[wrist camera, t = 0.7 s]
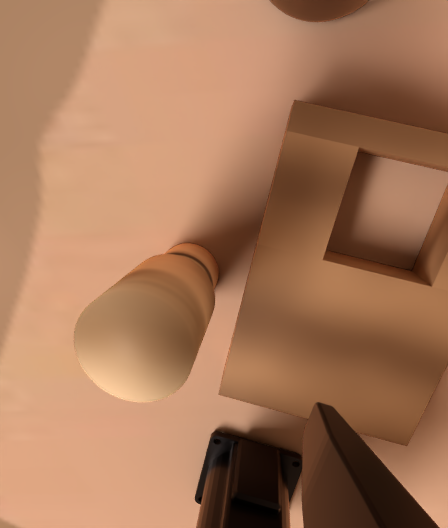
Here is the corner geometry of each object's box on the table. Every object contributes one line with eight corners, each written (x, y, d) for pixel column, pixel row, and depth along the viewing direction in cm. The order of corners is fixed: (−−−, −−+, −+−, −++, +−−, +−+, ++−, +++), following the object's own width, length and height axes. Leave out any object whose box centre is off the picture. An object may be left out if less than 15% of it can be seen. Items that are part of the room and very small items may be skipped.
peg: (216, 313, 21) (181, 415, 13) (149, 295, 21) (69, 384, 13) (232, 246, 20) (204, 310, 11) (160, 228, 20) (79, 278, 12)
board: (391, 414, 22) (407, 446, 19) (224, 369, 22) (218, 394, 20) (511, 156, 17) (550, 156, 14) (291, 108, 17) (294, 99, 15)
